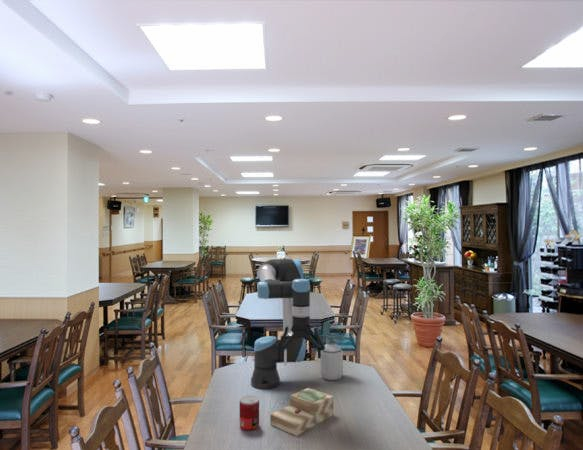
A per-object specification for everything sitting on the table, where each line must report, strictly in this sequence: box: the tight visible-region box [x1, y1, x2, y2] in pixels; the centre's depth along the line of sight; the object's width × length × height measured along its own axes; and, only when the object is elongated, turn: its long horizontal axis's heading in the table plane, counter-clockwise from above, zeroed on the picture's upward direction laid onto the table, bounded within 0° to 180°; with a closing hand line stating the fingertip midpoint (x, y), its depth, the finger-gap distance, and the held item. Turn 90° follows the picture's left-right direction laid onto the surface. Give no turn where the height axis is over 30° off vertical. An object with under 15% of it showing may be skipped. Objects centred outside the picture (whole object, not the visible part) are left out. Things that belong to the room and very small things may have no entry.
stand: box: [269, 387, 334, 437], centre depth 168 cm, size 24×14×8 cm, turn 138°
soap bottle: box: [319, 318, 344, 381], centre depth 217 cm, size 12×12×31 cm
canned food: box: [239, 395, 260, 432], centre depth 162 cm, size 8×8×11 cm
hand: (301, 365), depth 172 cm, fingers open, 13 cm apart
